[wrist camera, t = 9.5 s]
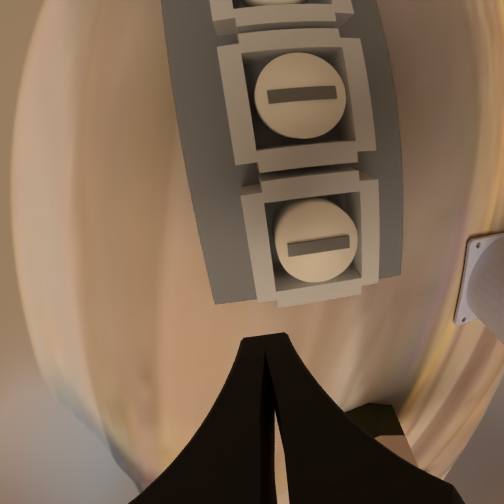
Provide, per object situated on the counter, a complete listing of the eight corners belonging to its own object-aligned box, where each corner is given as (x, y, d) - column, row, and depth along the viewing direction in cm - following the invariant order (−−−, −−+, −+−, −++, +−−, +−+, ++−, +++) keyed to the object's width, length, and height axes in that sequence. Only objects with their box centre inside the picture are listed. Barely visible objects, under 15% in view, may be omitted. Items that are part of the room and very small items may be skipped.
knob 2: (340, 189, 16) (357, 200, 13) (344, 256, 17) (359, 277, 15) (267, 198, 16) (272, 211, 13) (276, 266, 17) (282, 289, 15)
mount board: (349, -44, 11) (369, -72, 8) (390, 264, 20) (417, 292, 16) (163, -31, 12) (146, -61, 8) (216, 291, 20) (211, 327, 16)
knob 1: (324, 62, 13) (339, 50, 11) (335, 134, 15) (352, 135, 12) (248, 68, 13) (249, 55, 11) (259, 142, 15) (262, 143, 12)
